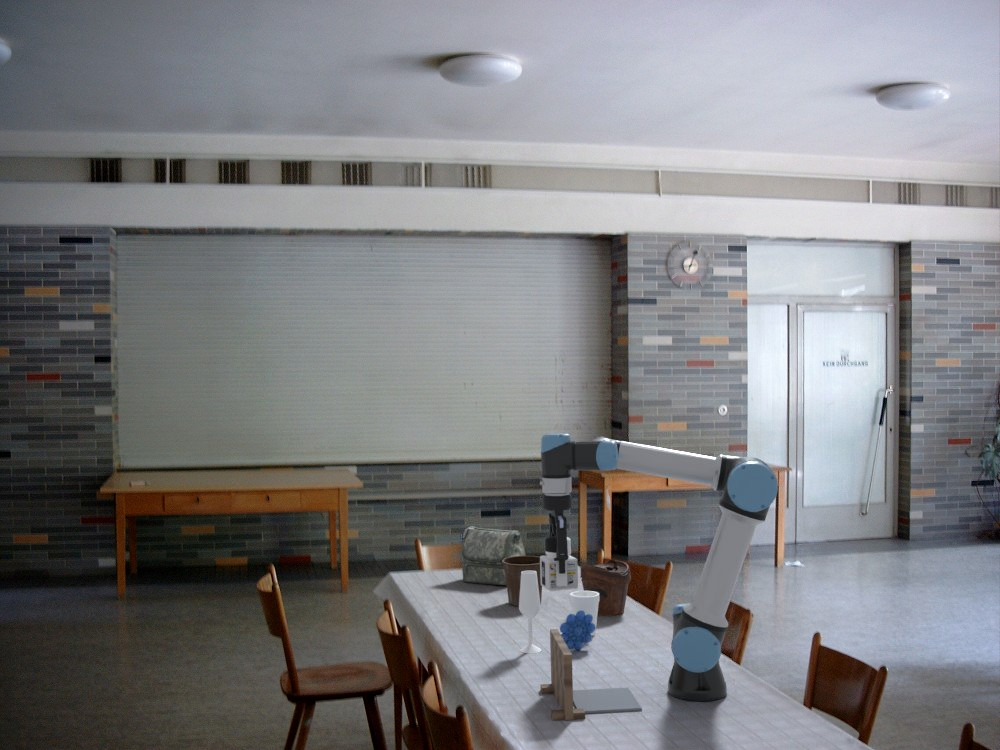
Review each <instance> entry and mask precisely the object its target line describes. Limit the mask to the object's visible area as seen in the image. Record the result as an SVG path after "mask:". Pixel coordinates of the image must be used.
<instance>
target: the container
mask: <svg viewBox="0 0 1000 750" xmlns="http://www.w3.org/2000/svg"><path fill="white" fill-rule="evenodd" d="M544 541H545V542H544V544H545V547H544V548H545V549H544V550H545V555H540V556H539V557H540V579H541V586H542V588H545V589H546V590H548V591H549V592H557V591H558V592H559V591H567V590H569V591H570V590H578V589H579V579H578V578H579V574H578V573H579V572H578V570H579V569H578V558H576V557H574V556H572V555H571V554H572V542H571V541H572V540H571V538H570V537H568V536H567V549H568V559H567V586H556V561H554V558H556V545H555V536H550V537H549V536H548V537H546V538H545V540H544ZM560 555H562V554H560Z"/></svg>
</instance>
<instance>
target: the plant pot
mask: <svg viewBox="0 0 1000 750" xmlns="http://www.w3.org/2000/svg"><path fill="white" fill-rule="evenodd" d="M502 562H503V563H504V571H505V574H506V582H507V586H506V588H507V600H508V604H509V605H511V606H514V607H518V608H519V597H520V583H521V572H522V571H528V570H531V571H536V572H537V580H538V589H539V597H540V605H541V604H542V599H543V598H542V596H543V586H541V579H540V556H536V555H526V556H513V557H508V558H505V559H503V560H502Z"/></svg>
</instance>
